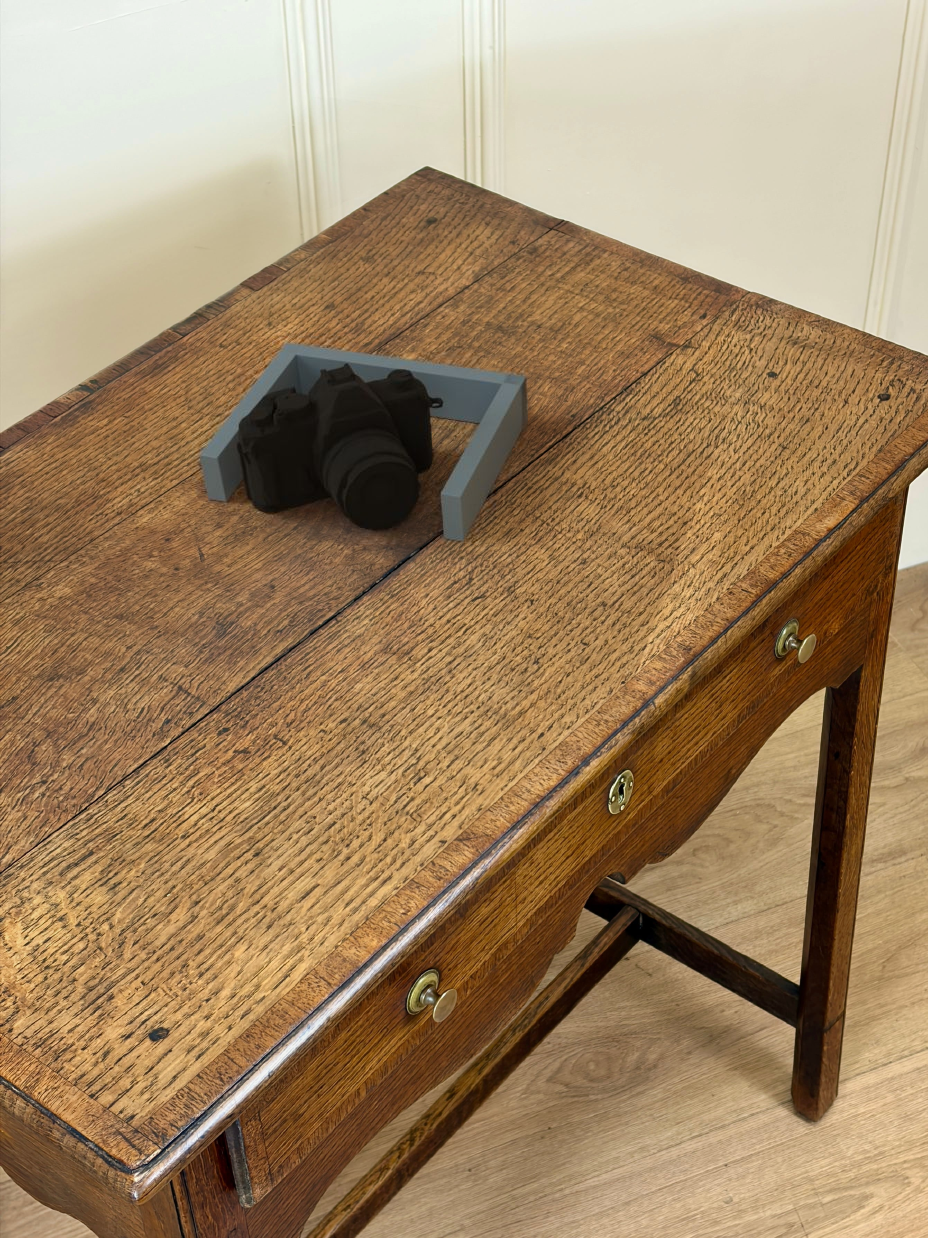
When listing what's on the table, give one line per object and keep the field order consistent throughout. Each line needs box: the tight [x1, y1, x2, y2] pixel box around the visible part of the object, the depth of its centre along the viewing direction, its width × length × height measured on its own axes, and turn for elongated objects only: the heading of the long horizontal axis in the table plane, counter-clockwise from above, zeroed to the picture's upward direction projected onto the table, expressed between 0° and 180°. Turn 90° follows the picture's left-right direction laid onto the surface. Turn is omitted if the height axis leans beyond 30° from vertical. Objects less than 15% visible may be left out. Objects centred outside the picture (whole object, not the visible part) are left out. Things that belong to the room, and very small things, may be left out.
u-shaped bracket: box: [198, 342, 528, 543], centre depth 110 cm, size 20×16×4 cm
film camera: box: [237, 363, 443, 531], centre depth 105 cm, size 15×10×9 cm, turn 113°
